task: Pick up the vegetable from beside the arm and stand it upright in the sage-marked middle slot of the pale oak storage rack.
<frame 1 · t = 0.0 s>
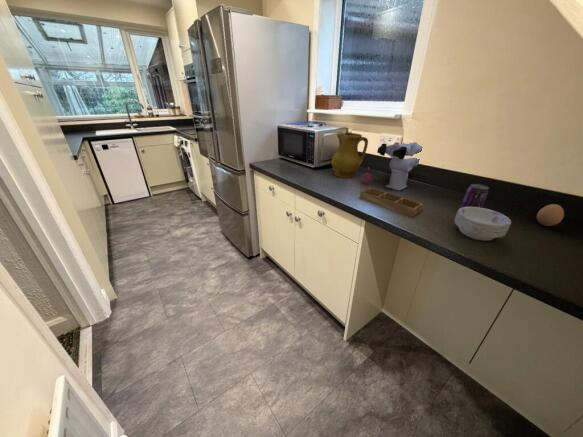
hand: (385, 151, 106), 22 cm above the counter, tool horizontal, fingers open, 7 cm apart
vegetable: (365, 184, 131), on the counter
paper bowls: (475, 234, 85), on the counter
egg: (543, 225, 92), on the counter
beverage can: (468, 212, 101), on the counter
rack: (388, 204, 108), on the counter
pitcher: (345, 175, 146), on the counter
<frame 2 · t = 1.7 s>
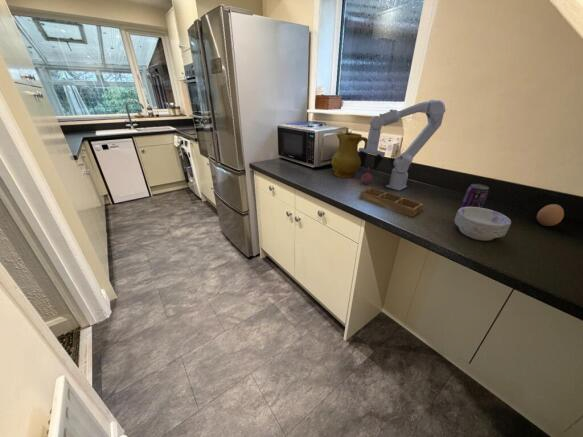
hand: (368, 167, 126), 10 cm above the counter, tool pointing down, fingers open, 7 cm apart
nothing on the counter moved.
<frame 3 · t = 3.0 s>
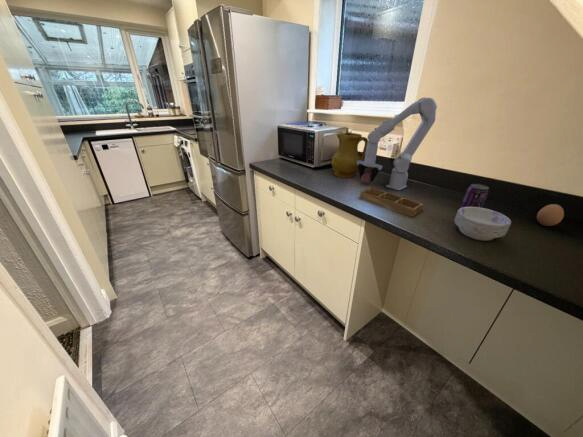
hand: (366, 179, 130), 3 cm above the counter, tool pointing down, fingers closed on vegetable, 6 cm apart
vegetable: (365, 184, 131), on the counter, touching gripper
everything else where it was.
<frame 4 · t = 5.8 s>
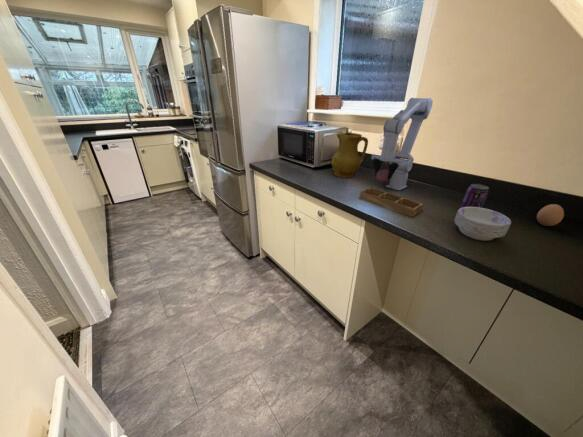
hand: (383, 176, 112), 10 cm above the counter, tool pointing down, fingers closed on vegetable, 6 cm apart
vegetable: (381, 183, 113), point 7 cm above the counter, touching gripper
everything else where it was.
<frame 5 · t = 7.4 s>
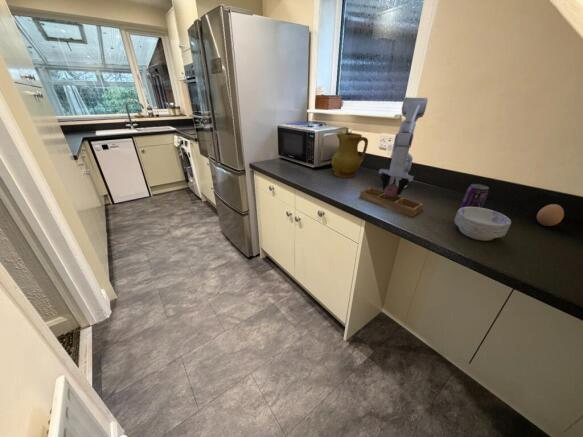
hand: (391, 192, 105), 6 cm above the counter, tool pointing down, fingers closed on vegetable, 6 cm apart
vegetable: (390, 198, 106), point 3 cm above the counter, touching gripper
everything else where it was.
when the fingers open (4 cm above the counter, at t = 8.8 s): vegetable stays where it is, resting on rack.
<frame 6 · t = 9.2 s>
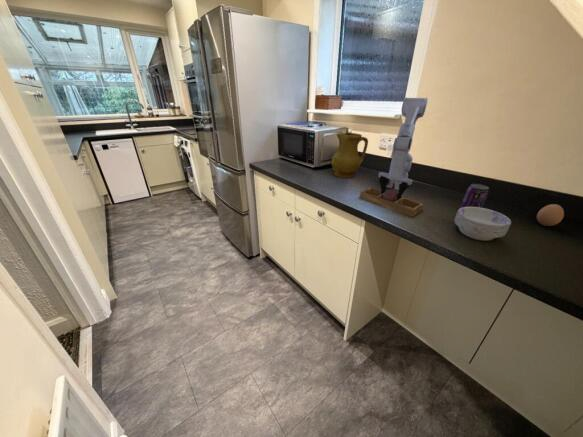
hand: (390, 195, 106), 4 cm above the counter, tool pointing down, fingers open, 7 cm apart
vegetable: (388, 203, 107), resting on rack
everything else where it was.
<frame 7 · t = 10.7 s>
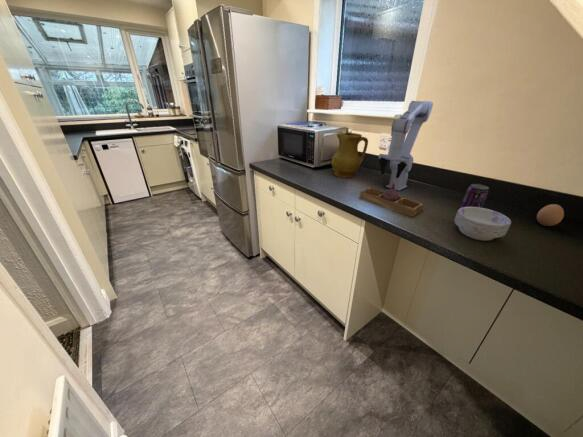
hand: (389, 175, 113), 10 cm above the counter, tool pointing down, fingers open, 7 cm apart
nothing on the counter moved.
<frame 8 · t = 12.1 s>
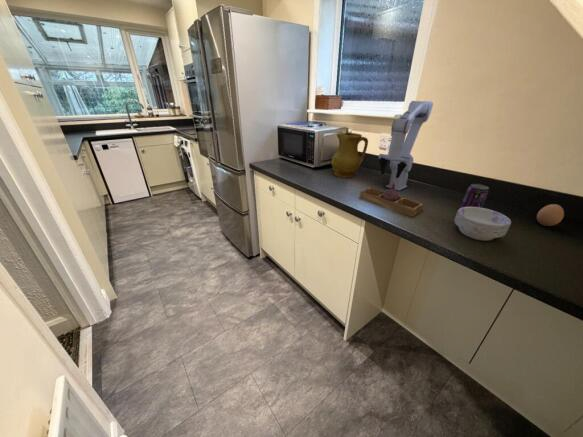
hand: (389, 175, 113), 10 cm above the counter, tool pointing down, fingers open, 7 cm apart
nothing on the counter moved.
at the end: vegetable 0.1 cm off-centre in the rack, point 0.5 cm above the rack's base; vegetable tilted 0° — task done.
